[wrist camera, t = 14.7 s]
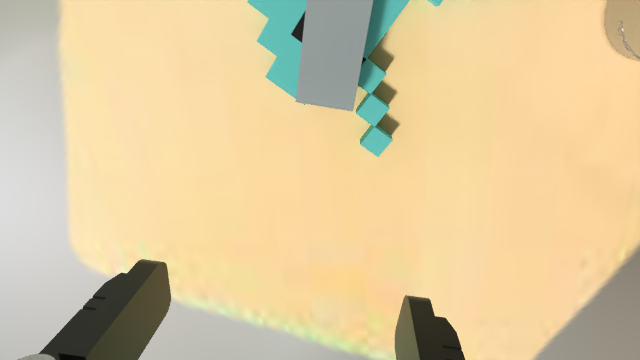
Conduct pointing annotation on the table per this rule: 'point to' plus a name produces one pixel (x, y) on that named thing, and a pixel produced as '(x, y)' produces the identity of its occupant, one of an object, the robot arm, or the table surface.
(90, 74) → the table surface
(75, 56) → the table surface
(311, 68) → the grey rectangular block
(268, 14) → the alien figure
